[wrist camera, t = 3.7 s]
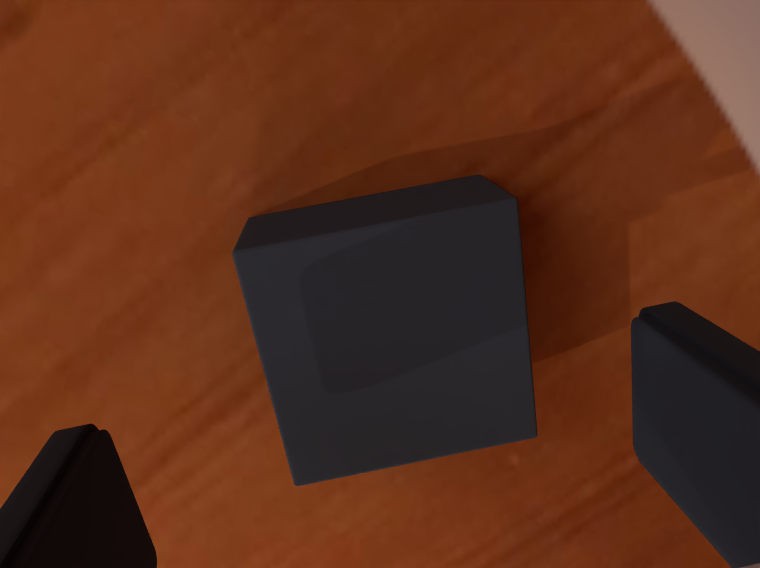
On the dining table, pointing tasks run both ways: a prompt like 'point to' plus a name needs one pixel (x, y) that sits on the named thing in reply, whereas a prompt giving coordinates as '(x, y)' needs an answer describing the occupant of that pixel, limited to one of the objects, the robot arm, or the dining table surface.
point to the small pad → (391, 326)
